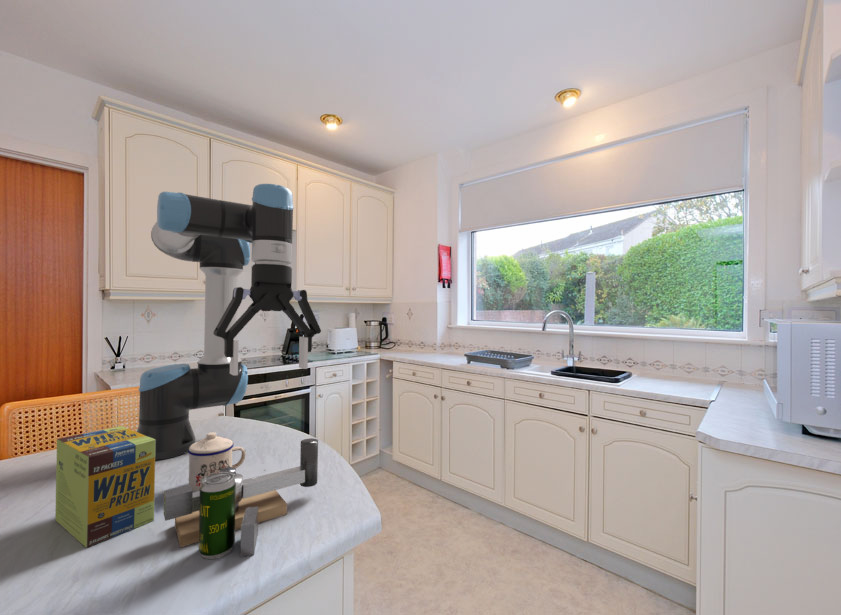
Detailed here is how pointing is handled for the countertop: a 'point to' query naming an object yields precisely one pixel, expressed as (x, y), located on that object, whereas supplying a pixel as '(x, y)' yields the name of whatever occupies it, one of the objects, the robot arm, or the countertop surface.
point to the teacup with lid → (210, 458)
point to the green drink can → (217, 515)
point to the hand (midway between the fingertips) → (270, 371)
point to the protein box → (104, 483)
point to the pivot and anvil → (247, 524)
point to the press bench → (267, 509)
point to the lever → (250, 483)
